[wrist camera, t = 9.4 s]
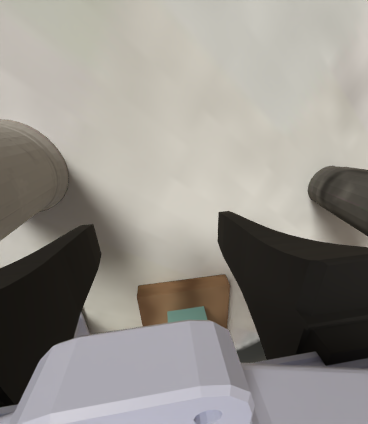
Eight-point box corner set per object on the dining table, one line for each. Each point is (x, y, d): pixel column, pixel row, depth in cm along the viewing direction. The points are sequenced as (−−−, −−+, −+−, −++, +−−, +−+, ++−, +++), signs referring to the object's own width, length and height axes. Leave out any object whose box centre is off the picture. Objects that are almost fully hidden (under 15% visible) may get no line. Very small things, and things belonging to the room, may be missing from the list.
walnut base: (149, 341, 31) (148, 355, 29) (138, 285, 26) (137, 297, 24) (221, 330, 32) (225, 342, 31) (225, 274, 27) (229, 285, 26)
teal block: (170, 335, 28) (173, 385, 23) (167, 311, 26) (170, 361, 21) (204, 329, 29) (215, 378, 23) (203, 306, 27) (216, 352, 21)
